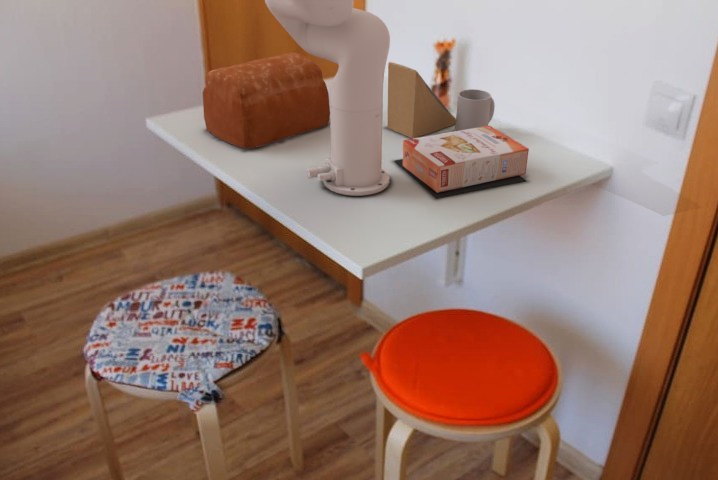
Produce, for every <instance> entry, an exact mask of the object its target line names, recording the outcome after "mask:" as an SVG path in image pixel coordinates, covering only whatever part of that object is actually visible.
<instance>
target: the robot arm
mask: <svg viewBox="0 0 718 480" xmlns="http://www.w3.org/2000/svg"><path fill="white" fill-rule="evenodd" d="M264 3H265V5H266V7H267V9H268V10H269V12H270V13H271V14H272V16H273V17H274V18H275V19H276V20H277V21H278V23H279V24H280V25H281V26H282V27H283V29H284V30H285V31H286V32H287V33H288V35H289V36H290V37H291V38H292V39H293V40H294V41H295V43H296V44H297V45H298V46H299V47H300V48H301V49H302V50H304V51H305V52H306V53H307V54H309V55H311V56H314V57H316V58H319V59H322V60H326V61H328V62H332V63H333V64H337V65H338V68H337V71H336V73H335V75H334V77H333V79H332V81H331V82H330V87H329V106H330V118H329V124H330V128H329V129H330V157H327V158H326V159H325V163H323V164H321V166H310V167H307V168H306V170H305V172H306V177H307V178H308V179H313V178H317V181H318V182H323V184H324V187H326V188H327V189H328V190H330V191H331V192H334V193H336V194H340V195H344V196H353V197H363V196H370V195H375V194H378V193H380V192H382V191H384V190H386V189H387V187H389V184H390V175H389V173H388V172H387V171H386V170H385V169H383V168H382V165H383V162H382V161H383V153H382V152H383V116H384V115H383V114H384V113H383V109H384V104H383V103H384V101H383V100H384V81H385V71H386V70H385V69H386V65H387V61H388V56H389V51H390V45H391V36H390V35H391V34H390V31H389V29H388V26H387V25H386V23H385V22H384V21H383V20H382V19H381V17H379V16H377V15H376V14H374V13H372V12H369V11H366V10H364V9H359V8H355V7H354V5H355V1H354V0H264Z"/></svg>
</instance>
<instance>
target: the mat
mask: <svg viewBox="0 0 718 480" xmlns="http://www.w3.org/2000/svg"><path fill="white" fill-rule="evenodd" d="M394 163H396V164H397V165H398V166H399V167H400V168H401V169H402V170H403V171H404V172H406V173H407V174H408V175H409V176H410V177H411V178H412V179H413V180H414V181H416V183H418V184H419V185H421V187H423V188H424V190H426V191H427V192H429V193H430V194H431V195H432V196H433V197H434V198H435V199H441V198H447V197H453V196H457V195H462V194H468V193H473V192H478V191H483V190H489V189H493V188H494V189H495V188H500V187H504V186H509V185H514V184H521V183H524V182H527V179H525V178H524V177H523V176H521V175H518V176H513V177H509V178H504V179H499V180H495V181H490V182H485V183H481V184H476V185H471V186H467V187H462V188H457V189H452V190H448V191H443V192H438V193H437V192H436V191H434V190H433V189H432V188H431V187H429V186H428V185H427V184H425V183H424V182H423V181H422V180H420V179H419V178H418V177H416V176H415V175H414V174H412V173H411V172H410V171H409V170H407V169H406V168H405V167H403V158H401V159H396V160H394Z"/></svg>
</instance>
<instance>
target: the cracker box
mask: <svg viewBox="0 0 718 480" xmlns="http://www.w3.org/2000/svg"><path fill="white" fill-rule="evenodd" d="M529 150H530V148H529V147H526V146H524V145H523V144H522V143H521V142H518V141H516V140H515V139H513V138H511V137H510V136H508V135H506V134H505V133H503V132H501V131H499V130H498V129H496V128H495V127H493V126H491V125H488V126H484V127H478V128H472V129H466V130H460V131H455V130H454V131H449V132H444V133H437V134H432V135H431V134H430V135H424V136H419V137H416V138H409V139H403V141H402V159H403V167H405V168H406V169H407V170H409V171H410V172H411V173H412V174H414V175H415V176H416V177H418V178H419V179H420V180H422V181H423V182H424V183H425V184H427V185H428V186H429V187H431V188H432V189H433V190H434V191H436V192H437V193H438V192H443V191H448V190H452V189H457V188H462V187H467V186H471V185H476V184H481V183H485V182H490V181H495V180H499V179H504V178H509V177H513V176H518V175H520V176H521V175H522V176H523V175H526V173H527V166H528V159H529V152H530V151H529Z"/></svg>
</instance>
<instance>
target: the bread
mask: <svg viewBox="0 0 718 480" xmlns="http://www.w3.org/2000/svg"><path fill="white" fill-rule="evenodd" d="M204 80H205V81H204V82H205V86H204V87H203V90H202V103H203V104H202V105H203V106H202V108H203V119H204V125H205V129H206V131H207V132H208V133H210V134H211V135H213V136H215V137H216V138H217V139H219V140H222V141H224V142H226V143H229V144H230V145H234V146H237V147H239V148H244V149H254V148H258V147H261V146H264V145H269V144H271V143H274V142H277V141H280V140H283V139H286V138H290V137H293V136H296V135H300V134H303V133H306V132H310V131H313V130H316V129H319V128H321V127H324V126H327V125H328V124H330V93H329V91H328V87H327V83H326V81H325V80H324V78H323V71H322V69H321V67H320V66H319V65H318V64H316V63H315V62H314V61H313V60H312V59H310V58H308V57H307V56H305V55H303V54H302V53H298V52H293V51H289V52H285V53H282V54H279V55H275V56H269V57H263V58H258V59H253V60H249V61H247V62H243V63H238V64H234V65H229V66H228V67H218V68H215V69H212V70H209V71H208V72H207V73H206V75H205V77H204Z"/></svg>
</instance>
